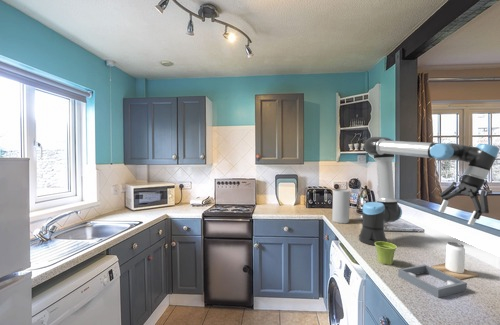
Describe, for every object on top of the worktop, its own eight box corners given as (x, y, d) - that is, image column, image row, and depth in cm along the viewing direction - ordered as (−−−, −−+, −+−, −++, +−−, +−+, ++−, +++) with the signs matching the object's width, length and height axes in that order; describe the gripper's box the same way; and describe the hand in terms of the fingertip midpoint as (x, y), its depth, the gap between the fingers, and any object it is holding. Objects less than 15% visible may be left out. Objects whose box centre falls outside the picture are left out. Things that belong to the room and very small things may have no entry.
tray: (398, 276, 101) (398, 269, 101) (424, 271, 106) (424, 264, 106) (437, 297, 85) (438, 289, 85) (466, 290, 90) (466, 283, 90)
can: (445, 265, 110) (445, 240, 110) (463, 269, 106) (464, 244, 106) (445, 270, 105) (446, 244, 105) (464, 275, 101) (465, 248, 101)
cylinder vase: (352, 222, 182) (353, 191, 181) (340, 224, 177) (341, 191, 176) (340, 218, 193) (340, 188, 193) (328, 220, 188) (329, 189, 187)
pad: (430, 266, 110) (430, 265, 110) (448, 263, 113) (448, 262, 113) (460, 279, 98) (460, 278, 98) (478, 275, 102) (478, 274, 102)
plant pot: (387, 268, 108) (388, 249, 107) (369, 259, 116) (370, 242, 116) (400, 264, 111) (401, 246, 111) (382, 256, 120) (383, 240, 120)
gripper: (513, 187, 97) (490, 232, 101) (452, 171, 121) (435, 208, 124) (502, 183, 95) (478, 229, 99) (442, 168, 119) (425, 206, 123)
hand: (454, 218), depth 112 cm, fingers open, 13 cm apart
